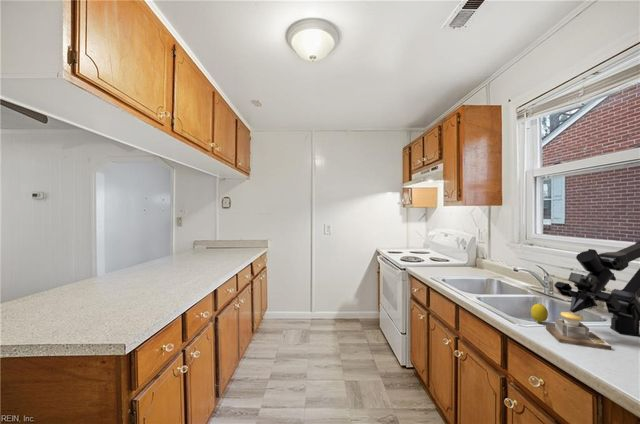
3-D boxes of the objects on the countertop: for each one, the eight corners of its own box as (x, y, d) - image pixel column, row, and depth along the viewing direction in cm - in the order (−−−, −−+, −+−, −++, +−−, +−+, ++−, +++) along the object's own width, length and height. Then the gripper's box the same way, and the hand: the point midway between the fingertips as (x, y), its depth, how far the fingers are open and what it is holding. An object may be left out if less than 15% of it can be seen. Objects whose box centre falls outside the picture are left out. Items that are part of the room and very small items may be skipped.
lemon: (548, 322, 117) (548, 303, 117) (547, 326, 112) (547, 306, 112) (531, 319, 120) (531, 300, 120) (530, 322, 116) (530, 303, 116)
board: (591, 335, 105) (591, 321, 105) (611, 350, 94) (611, 335, 94) (545, 329, 110) (546, 316, 110) (559, 342, 99) (559, 328, 99)
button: (577, 326, 105) (577, 313, 105) (586, 332, 99) (586, 318, 99) (557, 323, 107) (558, 310, 107) (564, 329, 101) (565, 316, 101)
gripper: (558, 261, 113) (535, 289, 111) (615, 271, 95) (588, 305, 93) (573, 280, 115) (550, 308, 113) (632, 293, 97) (606, 327, 94)
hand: (571, 311), depth 103 cm, fingers closed
